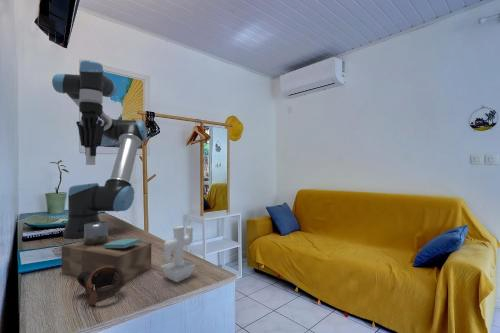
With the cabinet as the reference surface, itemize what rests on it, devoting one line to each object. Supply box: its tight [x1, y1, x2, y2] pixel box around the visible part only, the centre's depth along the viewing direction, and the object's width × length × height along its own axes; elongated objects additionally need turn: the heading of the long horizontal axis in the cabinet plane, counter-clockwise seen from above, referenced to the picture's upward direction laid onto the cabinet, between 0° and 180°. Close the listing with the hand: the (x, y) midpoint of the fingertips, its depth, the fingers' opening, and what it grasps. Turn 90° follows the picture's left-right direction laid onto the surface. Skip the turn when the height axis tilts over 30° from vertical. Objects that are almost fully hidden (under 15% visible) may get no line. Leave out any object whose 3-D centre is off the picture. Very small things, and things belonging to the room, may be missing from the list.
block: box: [61, 236, 152, 283], centre depth 79 cm, size 13×22×8 cm, turn 70°
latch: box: [104, 238, 142, 248], centre depth 77 cm, size 6×8×1 cm
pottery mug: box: [76, 266, 126, 306], centre depth 64 cm, size 12×10×8 cm
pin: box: [83, 221, 109, 246], centre depth 81 cm, size 6×6×13 cm
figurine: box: [160, 225, 197, 283], centre depth 75 cm, size 7×9×15 cm
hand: (90, 164), depth 98 cm, fingers closed
